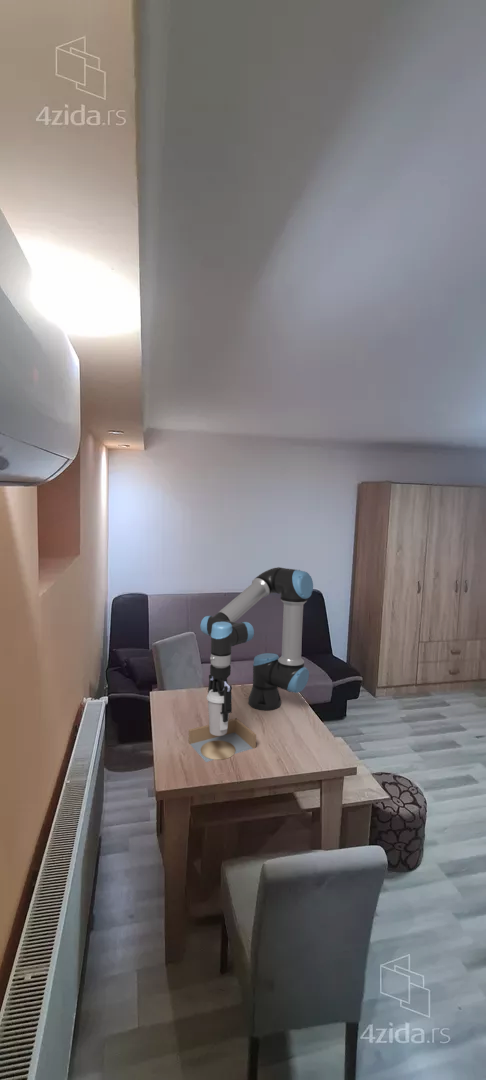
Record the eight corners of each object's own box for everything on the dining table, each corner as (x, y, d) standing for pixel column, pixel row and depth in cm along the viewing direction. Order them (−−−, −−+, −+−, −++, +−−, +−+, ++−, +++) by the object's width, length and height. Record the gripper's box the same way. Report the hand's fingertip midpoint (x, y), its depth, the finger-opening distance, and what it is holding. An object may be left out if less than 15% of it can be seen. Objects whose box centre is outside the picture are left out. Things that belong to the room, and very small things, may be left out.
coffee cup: (233, 727, 176) (235, 688, 174) (227, 739, 166) (229, 699, 165) (209, 724, 177) (210, 686, 176) (202, 736, 168) (203, 696, 167)
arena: (235, 732, 188) (236, 718, 188) (255, 749, 175) (256, 734, 175) (188, 744, 177) (188, 729, 177) (205, 764, 165) (206, 748, 164)
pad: (225, 738, 181) (225, 737, 181) (241, 754, 170) (241, 753, 170) (194, 746, 175) (194, 745, 175) (210, 763, 164) (210, 762, 164)
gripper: (199, 657, 177) (197, 715, 178) (224, 675, 159) (222, 739, 161) (216, 655, 180) (215, 711, 182) (243, 672, 163) (241, 734, 165)
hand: (218, 724), depth 172 cm, fingers closed on coffee cup, 7 cm apart
